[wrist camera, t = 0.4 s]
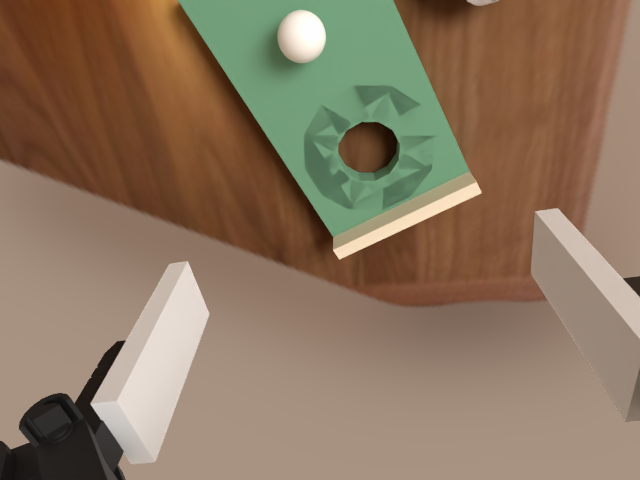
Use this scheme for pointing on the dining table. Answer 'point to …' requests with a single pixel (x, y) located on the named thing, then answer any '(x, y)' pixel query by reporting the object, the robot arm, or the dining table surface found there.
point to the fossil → (481, 2)
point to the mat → (342, 110)
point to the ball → (301, 36)
